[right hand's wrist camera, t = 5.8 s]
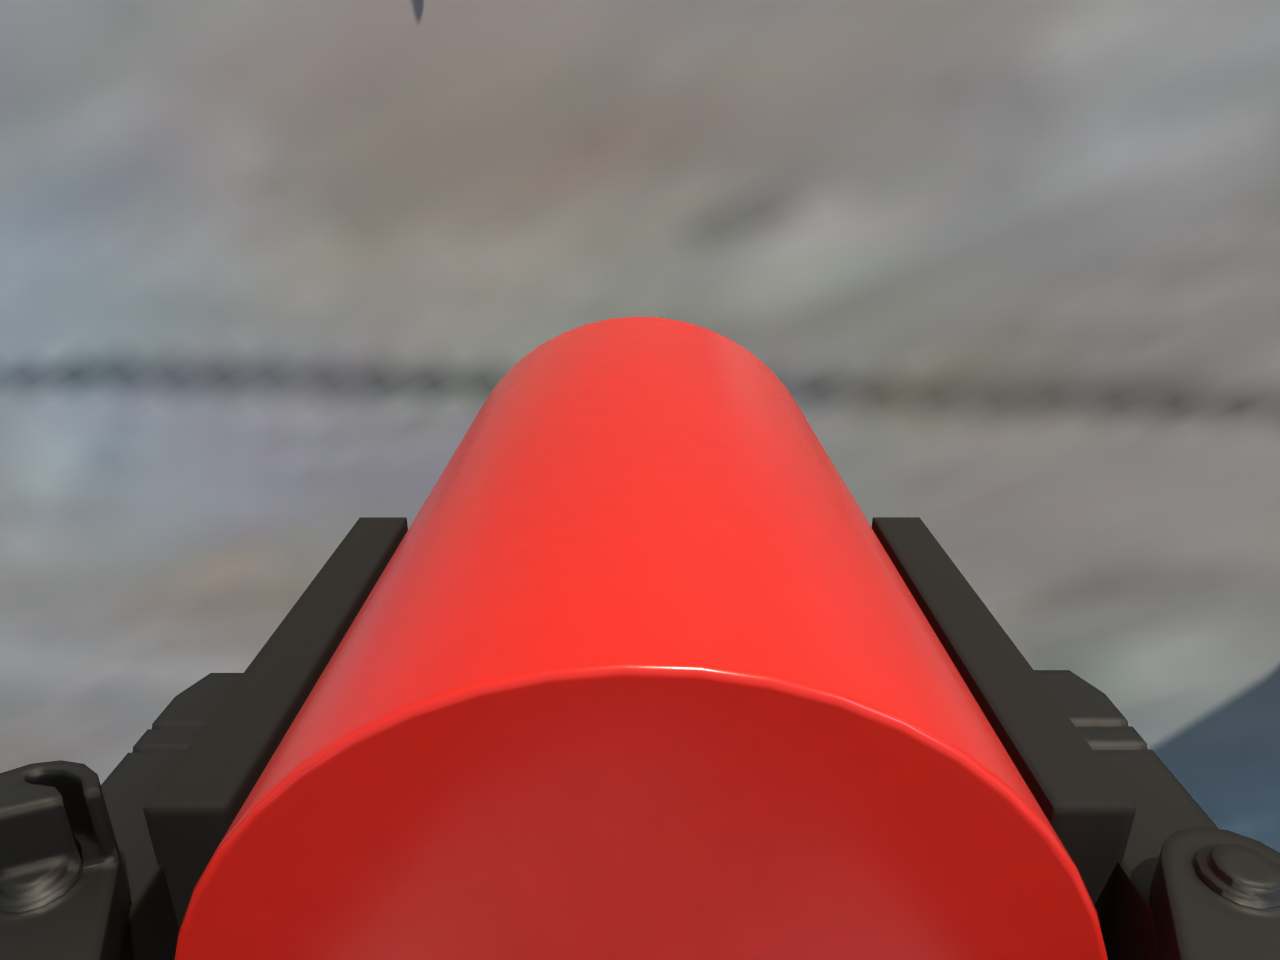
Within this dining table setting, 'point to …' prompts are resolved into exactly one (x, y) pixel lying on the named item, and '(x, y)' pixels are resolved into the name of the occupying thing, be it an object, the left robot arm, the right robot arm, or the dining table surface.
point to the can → (640, 710)
